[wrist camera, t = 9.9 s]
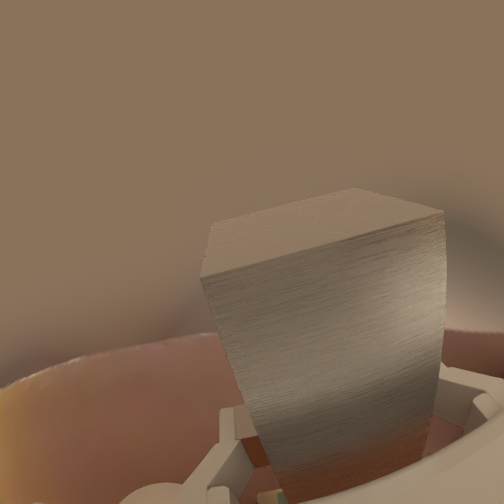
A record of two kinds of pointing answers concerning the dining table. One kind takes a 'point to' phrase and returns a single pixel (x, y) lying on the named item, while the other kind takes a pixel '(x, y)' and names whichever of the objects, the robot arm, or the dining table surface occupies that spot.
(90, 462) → the dining table surface
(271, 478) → the dining table surface
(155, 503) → the round bore block
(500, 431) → the robot arm
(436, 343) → the square bit
